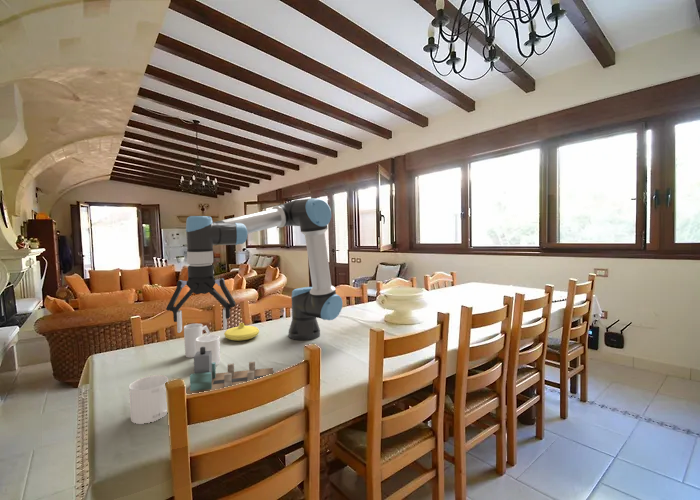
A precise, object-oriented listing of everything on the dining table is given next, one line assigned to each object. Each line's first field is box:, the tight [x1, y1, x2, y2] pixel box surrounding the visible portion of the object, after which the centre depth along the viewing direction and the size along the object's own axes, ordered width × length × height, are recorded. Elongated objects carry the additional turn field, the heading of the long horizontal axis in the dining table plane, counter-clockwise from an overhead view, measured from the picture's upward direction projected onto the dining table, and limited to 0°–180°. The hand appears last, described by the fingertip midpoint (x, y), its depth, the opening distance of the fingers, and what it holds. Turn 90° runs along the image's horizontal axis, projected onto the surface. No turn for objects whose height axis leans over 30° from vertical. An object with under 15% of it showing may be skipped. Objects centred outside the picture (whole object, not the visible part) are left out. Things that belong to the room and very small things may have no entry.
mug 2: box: [183, 323, 211, 359], centre depth 134 cm, size 10×7×12 cm, turn 139°
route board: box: [185, 361, 274, 394], centre depth 108 cm, size 26×14×6 cm, turn 104°
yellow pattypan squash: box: [223, 322, 260, 342], centre depth 153 cm, size 16×16×7 cm
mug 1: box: [128, 374, 169, 425], centre depth 89 cm, size 12×9×9 cm
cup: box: [196, 334, 221, 367], centre depth 125 cm, size 8×12×10 cm
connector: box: [193, 347, 212, 376], centre depth 106 cm, size 4×4×12 cm
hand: (203, 330), depth 105 cm, fingers open, 13 cm apart
